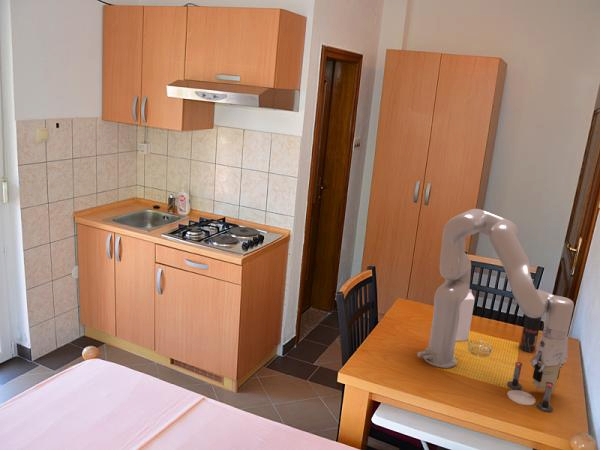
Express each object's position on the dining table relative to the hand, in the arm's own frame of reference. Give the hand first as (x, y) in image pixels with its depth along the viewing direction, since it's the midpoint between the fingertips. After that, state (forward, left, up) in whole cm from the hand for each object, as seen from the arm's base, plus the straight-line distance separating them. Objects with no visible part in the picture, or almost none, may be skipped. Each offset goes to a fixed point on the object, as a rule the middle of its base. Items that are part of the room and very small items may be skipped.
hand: (545, 378), depth 183 cm
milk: (-1, +46, -6) cm, 46 cm away
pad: (-10, 0, -6) cm, 11 cm away
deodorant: (+22, +30, -6) cm, 38 cm away
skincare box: (0, 0, -4) cm, 4 cm away
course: (+1, 0, -6) cm, 6 cm away
